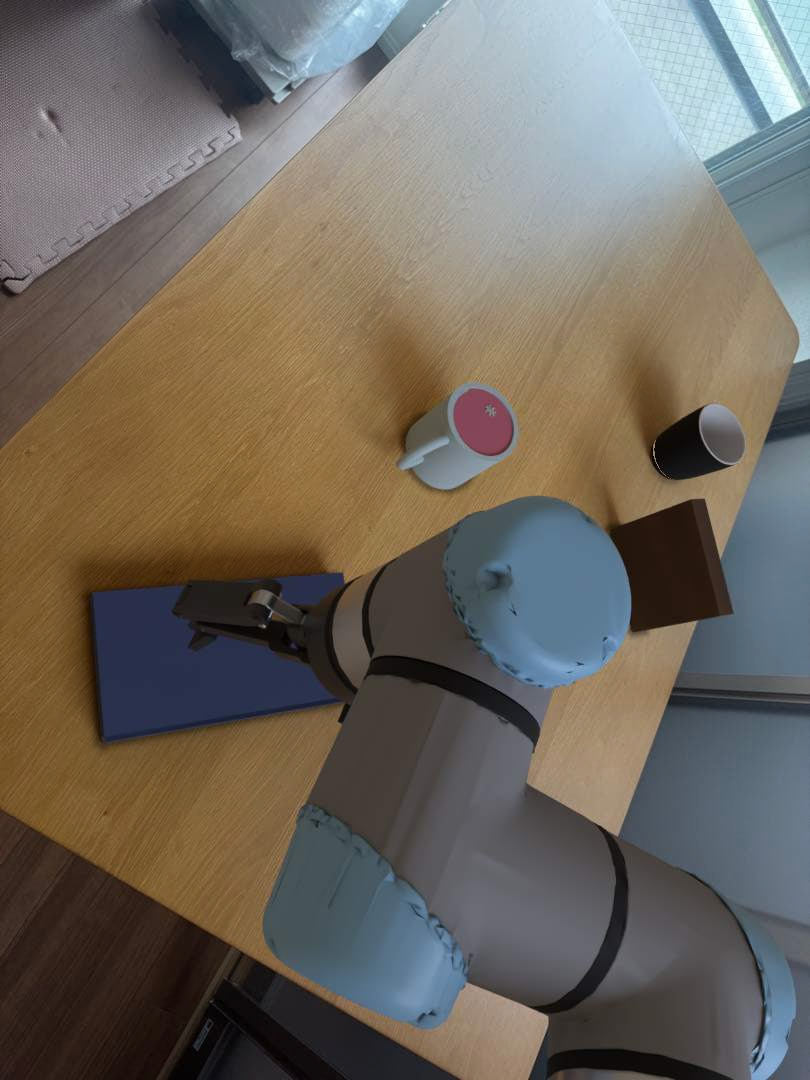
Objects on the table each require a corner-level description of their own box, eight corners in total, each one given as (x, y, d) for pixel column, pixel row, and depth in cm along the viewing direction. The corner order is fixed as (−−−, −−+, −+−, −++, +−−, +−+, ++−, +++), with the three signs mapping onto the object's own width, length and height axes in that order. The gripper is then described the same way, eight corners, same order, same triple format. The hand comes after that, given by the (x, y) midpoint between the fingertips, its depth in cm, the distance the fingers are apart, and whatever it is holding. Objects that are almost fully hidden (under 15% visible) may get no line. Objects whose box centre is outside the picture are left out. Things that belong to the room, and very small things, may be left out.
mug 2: (673, 500, 105) (732, 478, 96) (633, 455, 104) (689, 428, 95) (703, 450, 111) (761, 424, 102) (666, 407, 110) (722, 377, 101)
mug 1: (450, 408, 91) (494, 373, 82) (483, 475, 91) (531, 446, 82) (361, 441, 84) (400, 406, 75) (397, 513, 84) (439, 486, 75)
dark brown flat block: (632, 632, 95) (720, 615, 83) (609, 529, 98) (691, 498, 86) (645, 630, 96) (734, 613, 84) (622, 528, 99) (705, 498, 87)
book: (101, 743, 64) (104, 743, 61) (89, 598, 67) (92, 592, 64) (350, 700, 75) (362, 698, 73) (332, 578, 78) (343, 572, 75)
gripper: (577, 672, 46) (418, 696, 64) (221, 464, 38) (156, 557, 57) (545, 790, 42) (387, 779, 61) (150, 587, 35) (106, 644, 53)
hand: (275, 672), depth 59 cm, fingers open, 13 cm apart
